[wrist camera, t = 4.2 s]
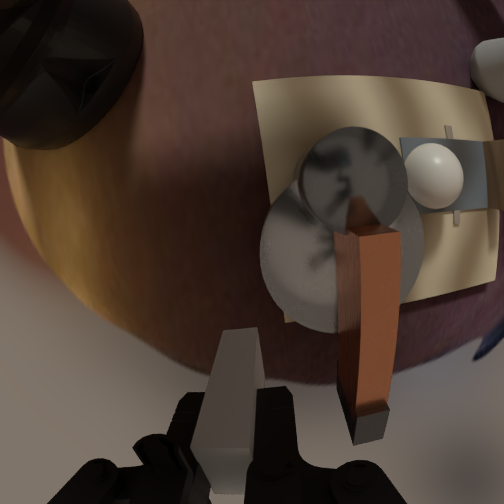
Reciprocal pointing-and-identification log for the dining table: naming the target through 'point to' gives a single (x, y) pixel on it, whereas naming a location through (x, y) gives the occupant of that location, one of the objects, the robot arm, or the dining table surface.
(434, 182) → the ball
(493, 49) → the salt shaker
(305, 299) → the grey round-based piece
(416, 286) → the stand
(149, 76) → the dining table surface
